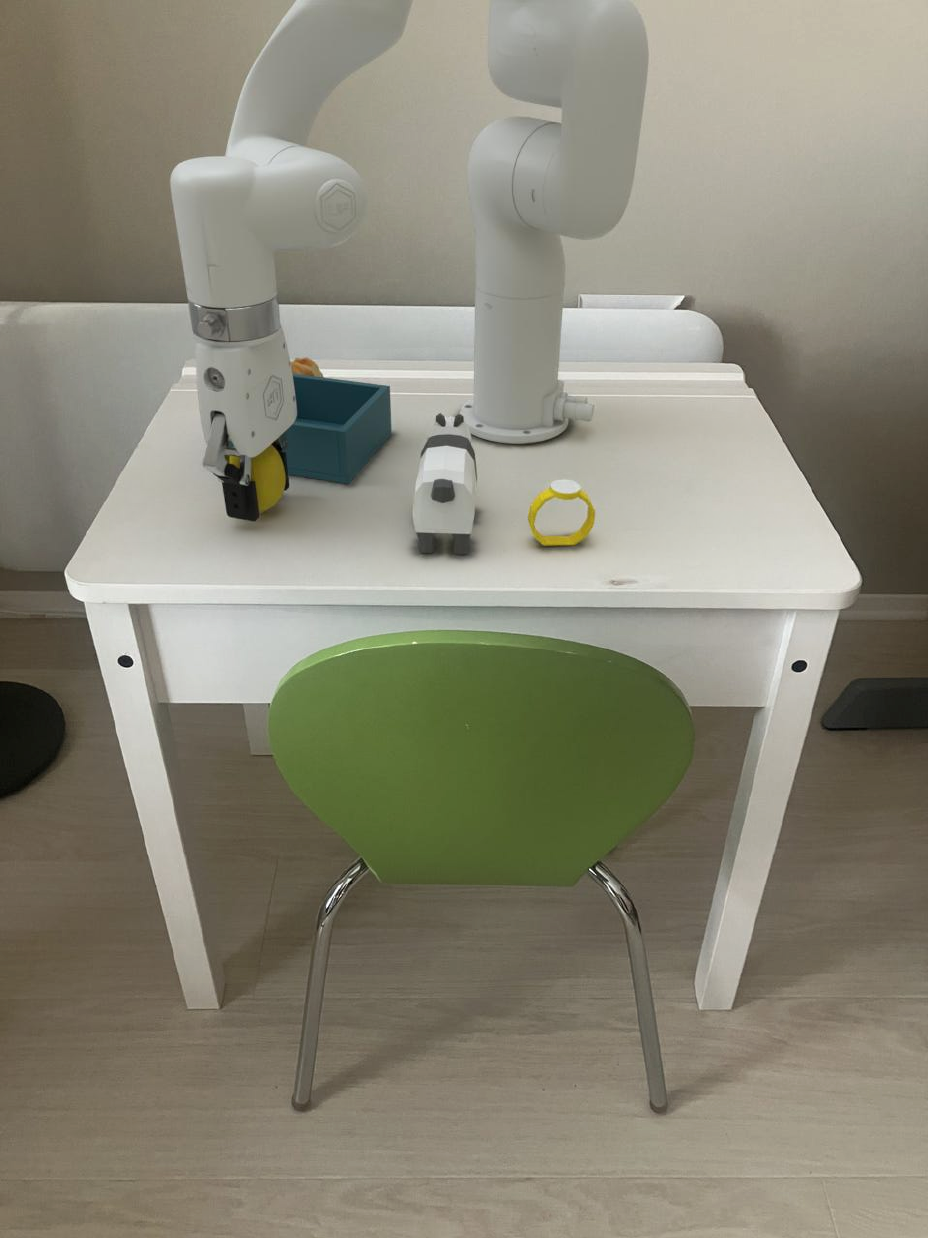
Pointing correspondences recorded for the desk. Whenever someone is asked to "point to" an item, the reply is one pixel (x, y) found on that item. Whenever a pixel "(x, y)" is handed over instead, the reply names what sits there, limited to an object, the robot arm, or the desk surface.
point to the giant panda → (446, 485)
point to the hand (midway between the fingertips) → (259, 500)
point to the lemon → (266, 476)
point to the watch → (564, 492)
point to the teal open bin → (336, 427)
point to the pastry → (305, 367)
